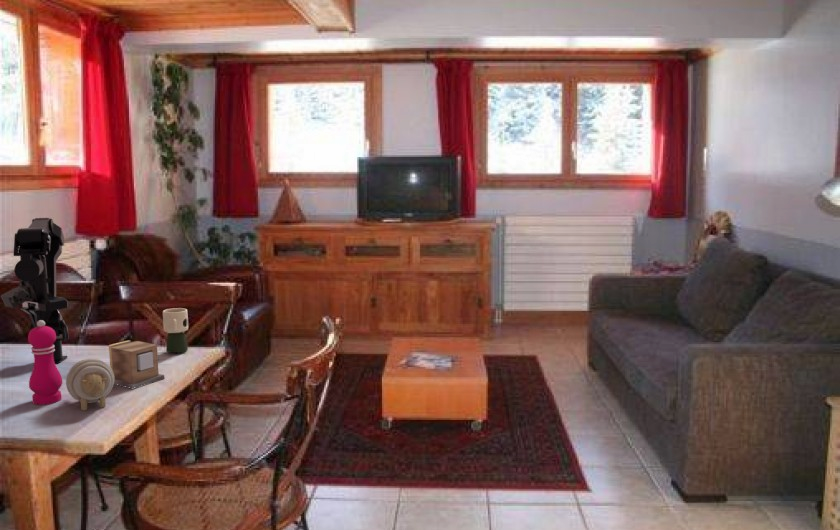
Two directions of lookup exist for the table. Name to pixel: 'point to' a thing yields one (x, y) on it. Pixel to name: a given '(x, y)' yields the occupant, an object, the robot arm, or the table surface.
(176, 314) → the character mug
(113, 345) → the tan drawer
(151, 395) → the table surface
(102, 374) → the toy sheep
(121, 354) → the wooden drawer box
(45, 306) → the robot arm
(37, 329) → the pepper mill
